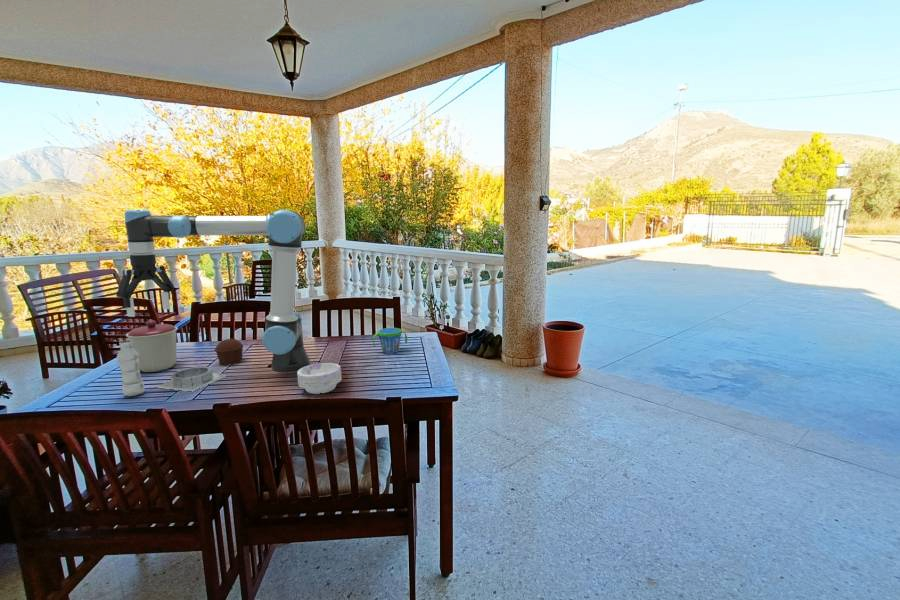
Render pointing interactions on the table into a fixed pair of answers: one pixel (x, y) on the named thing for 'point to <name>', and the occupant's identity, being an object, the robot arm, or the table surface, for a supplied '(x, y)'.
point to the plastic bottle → (130, 369)
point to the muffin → (229, 351)
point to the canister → (154, 346)
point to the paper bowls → (319, 377)
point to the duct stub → (192, 379)
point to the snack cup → (390, 339)
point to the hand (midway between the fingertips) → (149, 312)
